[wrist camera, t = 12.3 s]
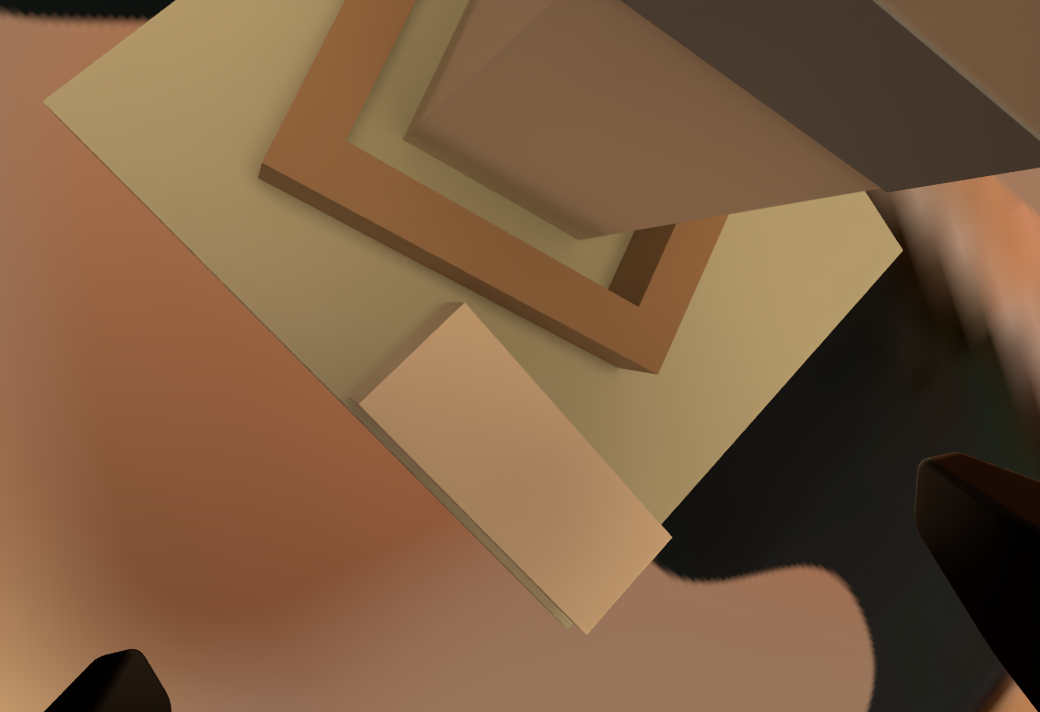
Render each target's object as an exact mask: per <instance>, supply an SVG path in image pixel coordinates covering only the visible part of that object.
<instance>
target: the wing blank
mask: <svg viewBox="0 0 1040 712" xmlns="http://www.w3.org/2000/svg"><path fill="white" fill-rule="evenodd" d="M349 397H350V398H351V399H352V400H353V401H354V402H355V403H356V404H357V405H358V406H359V407H360V409H361V410H362V411H363V412H364V413H365V414H366V415H367V416H368V417H369V418H370V419H371V420H372V421H373V422H374V423H375V424H376V425H377V426H378V427H379V428H380V429H381V430H382V431H383V432H384V433H385V434H386V435H387V436H388V437H389V438H390V439H391V440H392V441H393V442H394V443H395V444H396V445H397V446H398V447H399V448H400V449H401V450H402V451H403V452H404V453H405V454H406V455H407V456H408V457H409V458H410V459H411V460H412V461H413V462H414V463H415V464H416V465H417V466H418V467H419V468H420V469H421V470H422V471H423V472H424V473H425V474H426V475H427V476H428V477H429V478H430V479H431V480H432V481H433V482H434V483H435V484H436V485H437V486H438V487H439V488H440V489H441V490H442V491H443V492H444V493H445V494H446V495H447V496H448V497H449V498H450V500H451V501H452V502H453V503H454V504H455V505H456V506H457V507H458V508H459V509H460V510H461V511H462V512H463V513H464V514H465V515H466V516H467V517H468V518H469V519H470V520H471V521H472V522H473V523H474V524H475V525H476V526H477V527H478V528H479V529H480V530H481V531H482V532H483V533H484V534H485V535H486V536H487V537H488V538H489V539H490V540H491V541H492V542H493V543H494V544H495V545H496V546H497V547H498V548H499V549H500V550H501V551H502V552H503V553H504V554H505V555H506V556H507V557H508V558H509V559H510V560H511V561H512V562H513V563H514V564H515V565H516V566H517V567H518V568H519V569H520V570H521V571H522V572H523V573H524V574H525V575H526V576H527V577H528V578H529V579H530V580H531V581H532V582H533V583H534V584H535V585H536V586H537V587H538V588H539V589H540V591H541V592H542V593H543V594H544V595H545V596H546V597H547V598H548V599H549V600H550V601H551V602H552V603H553V604H554V605H555V606H556V607H557V608H558V609H559V610H560V611H561V612H562V613H563V614H564V615H566V616H567V617H568V618H569V619H570V620H571V621H572V622H573V623H574V624H575V625H576V626H577V627H578V628H580V629H581V630H582V631H583V632H584V633H585V634H586V635H587V634H588V633H589V632H590V631H591V630H592V628H593V627H594V626H595V625H596V624H597V623H598V622H599V620H600V619H601V618H602V617H603V616H604V615H605V614H606V612H607V611H608V610H609V609H610V608H611V607H612V605H613V604H614V603H615V602H616V601H617V600H618V599H619V598H620V596H621V595H622V594H623V593H624V592H625V591H626V589H627V588H628V587H629V586H630V585H631V584H632V583H633V582H634V580H635V579H636V578H637V577H638V576H639V575H640V574H641V572H642V571H643V570H644V569H645V568H646V567H647V566H648V564H649V563H650V562H651V561H652V560H653V559H654V558H655V556H656V555H657V554H658V553H659V552H660V551H661V550H662V548H663V547H664V546H665V545H666V544H667V543H668V542H669V540H670V539H671V538H672V537H671V536H670V534H669V533H668V532H667V531H666V530H665V529H664V528H663V527H662V525H661V524H660V523H659V522H658V521H657V520H656V519H655V517H654V516H653V515H652V514H651V513H650V512H649V511H648V510H647V508H646V507H645V506H644V505H643V504H642V503H641V502H640V500H639V499H638V498H637V497H636V496H635V495H634V494H633V493H632V491H631V490H630V489H629V488H628V487H627V486H626V485H625V483H624V482H623V481H622V480H621V479H620V478H619V477H618V476H617V474H616V473H615V472H614V471H613V470H612V469H611V468H610V466H609V465H608V464H607V463H606V462H605V461H604V460H603V459H602V457H601V456H600V455H599V454H598V453H597V452H596V451H595V449H594V448H593V447H592V446H591V445H590V444H589V443H588V442H587V440H586V439H585V438H584V437H583V436H582V435H581V434H580V432H579V431H578V430H577V429H576V428H575V427H574V426H573V425H572V423H571V422H570V421H569V420H568V419H567V418H566V417H565V415H564V414H563V413H562V412H561V411H560V410H559V409H558V408H557V406H556V405H555V404H554V403H553V402H552V401H551V400H550V398H549V397H548V396H547V395H546V394H545V393H544V392H543V391H542V389H541V388H540V387H539V386H538V385H537V384H536V383H535V381H534V380H533V379H532V378H531V377H530V376H529V375H528V374H527V372H526V371H525V370H524V369H523V368H522V367H521V366H520V364H519V363H518V362H517V361H516V360H515V359H514V358H513V357H512V355H511V354H510V353H509V352H508V351H507V350H506V349H505V347H504V346H503V345H502V344H501V343H500V342H499V341H498V340H497V338H496V337H495V336H494V335H493V334H492V333H491V332H490V330H489V329H488V328H487V327H486V326H485V325H484V324H483V323H482V321H481V320H480V319H479V318H478V317H477V316H476V315H475V313H474V312H473V311H472V310H471V309H470V308H469V307H468V306H467V304H466V303H465V302H447V303H445V304H444V305H443V306H442V307H441V308H440V309H439V310H438V311H437V312H436V313H435V314H434V315H433V316H432V317H431V318H430V319H429V320H428V321H427V322H426V323H425V324H423V325H422V326H421V327H420V328H419V329H418V330H417V331H416V332H415V333H414V334H413V335H412V336H411V337H410V338H409V339H408V340H407V341H406V342H405V343H404V344H402V345H401V346H400V347H399V348H398V349H397V350H396V351H395V352H394V353H393V354H392V355H391V356H390V357H389V358H388V359H387V360H386V361H385V362H384V363H383V364H382V365H380V366H379V367H378V368H377V369H376V370H375V371H374V372H373V373H372V374H371V375H370V376H369V377H368V378H367V379H366V380H365V381H364V382H363V383H362V384H361V385H359V386H358V387H357V388H356V389H355V390H354V391H353V392H352V393H351V394H350V395H349Z"/></svg>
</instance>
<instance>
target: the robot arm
mask: <svg viewBox="0 0 1040 712" xmlns="http://www.w3.org/2000/svg"><path fill="white" fill-rule="evenodd" d="M914 518H915V523H916V527H917V529H918V532H919V534H920V536H921V538H922V539H923V541H924V543H925V544H926V546H927V547H928V549H929V551H930V552H931V554H932V555H933V557H934V559H935V560H936V562H937V564H938V565H939V567H940V568H941V570H942V572H943V573H944V575H945V577H946V578H947V580H948V581H949V583H950V585H951V586H952V588H953V590H954V591H955V593H956V594H957V596H958V598H959V599H960V601H961V603H962V604H963V606H964V607H965V609H966V611H967V612H968V614H969V616H970V617H971V619H972V620H973V622H974V624H975V625H976V627H977V629H978V630H979V632H980V633H981V635H982V636H983V638H984V639H985V641H986V642H987V644H988V646H989V647H990V649H991V650H992V651H993V653H994V654H995V656H996V657H997V658H998V660H999V661H1000V662H1001V664H1002V665H1003V667H1004V668H1005V669H1006V671H1007V672H1008V673H1009V675H1010V676H1011V677H1012V678H1013V680H1014V681H1015V682H1016V684H1017V685H1018V686H1019V688H1020V689H1021V690H1022V692H1023V693H1024V694H1025V695H1026V697H1027V698H1028V699H1029V701H1030V702H1031V703H1032V705H1033V706H1034V707H1035V709H1036V710H1037V711H1038V712H1040V481H1037V480H1034V479H1031V478H1029V477H1026V476H1023V475H1020V474H1018V473H1015V472H1012V471H1009V470H1007V469H1004V468H1001V467H999V466H996V465H993V464H990V463H988V462H985V461H982V460H979V459H977V458H974V457H971V456H968V455H966V454H962V453H958V452H952V453H947V454H943V455H939V456H934V457H930V458H927V459H925V460H923V461H922V462H921V463H920V465H919V466H918V471H917V482H916V495H915V507H914ZM44 712H171V704H170V700H169V697H168V695H167V693H166V691H165V689H164V688H163V686H162V684H161V683H160V681H159V679H158V678H157V676H156V674H155V673H154V671H153V669H152V668H151V666H150V664H149V663H148V661H147V659H146V658H145V656H144V655H143V653H141V652H140V651H138V650H136V649H128V650H124V651H120V652H115V653H111V654H107V655H104V656H101V657H99V658H97V659H95V660H94V661H93V662H92V663H91V664H90V665H89V666H88V667H87V668H86V669H85V670H84V671H83V672H82V673H81V674H80V675H79V676H78V677H77V678H76V679H75V680H74V681H73V682H72V683H71V684H70V686H68V688H67V689H66V690H65V691H64V692H63V693H62V694H61V695H60V696H59V697H58V698H57V699H56V700H55V701H54V702H53V703H52V704H51V705H50V706H49V707H48V708H47V709H46V710H45V711H44Z"/></svg>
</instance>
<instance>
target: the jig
mask: <svg viewBox="0 0 1040 712" xmlns="http://www.w3.org/2000/svg"><path fill="white" fill-rule="evenodd" d="M468 2H469V0H176V1H174V2H173V3H172V4H170V5H169V6H168V7H166V8H165V9H164V10H162V11H161V12H160V13H158V14H157V15H156V16H154V17H153V18H152V19H151V20H149V21H148V22H147V23H145V24H144V25H143V26H141V27H140V28H139V29H137V30H136V31H135V32H133V33H132V34H131V35H129V36H128V37H127V38H125V39H124V40H123V41H122V42H120V43H119V44H117V45H116V46H115V47H114V48H112V49H111V50H110V51H108V52H107V53H106V54H104V55H103V56H102V57H100V58H99V59H98V60H96V61H95V62H94V63H93V64H91V65H90V66H88V67H87V68H86V69H84V70H83V71H82V72H81V73H79V74H78V75H77V76H75V77H74V78H73V79H71V80H70V81H69V82H67V83H66V84H65V85H63V86H62V87H61V88H59V89H58V90H57V91H55V92H54V93H53V94H52V95H50V96H49V97H48V98H46V99H45V100H44V101H43V103H44V104H45V105H46V106H47V107H48V108H49V109H50V110H51V111H52V112H53V113H54V114H55V116H56V117H57V118H58V119H60V121H61V122H62V123H64V125H65V126H66V127H67V128H69V130H71V132H72V133H73V134H74V135H76V137H77V138H78V139H79V140H80V141H81V142H82V143H83V144H84V145H85V146H86V147H87V148H88V149H90V151H91V152H92V153H93V154H94V155H95V156H96V157H97V158H98V159H99V160H100V161H101V162H102V163H103V164H104V165H105V166H106V167H107V168H108V169H109V170H110V171H111V172H112V173H113V174H114V175H115V176H116V177H117V178H118V179H119V180H120V181H121V182H122V183H123V184H124V185H125V186H126V187H127V188H128V189H129V190H130V191H131V192H132V193H133V194H134V195H135V196H136V197H137V198H138V199H139V200H140V201H141V202H142V203H143V204H144V205H145V206H146V207H147V208H148V209H149V210H150V211H151V212H152V213H153V214H154V215H155V216H156V217H157V218H158V219H159V220H160V221H161V222H162V223H163V224H164V225H165V226H166V227H167V228H168V229H169V230H170V231H171V232H172V233H173V234H174V235H175V236H176V237H177V238H178V239H179V240H180V241H181V242H182V243H183V244H184V245H185V246H186V247H187V248H188V249H189V250H190V251H191V252H192V253H193V254H194V255H195V256H196V257H197V258H198V259H199V260H200V261H201V262H202V263H203V264H204V265H205V266H206V267H207V268H208V269H209V270H210V271H211V272H212V273H213V274H214V275H215V276H216V277H217V278H218V279H219V280H220V281H221V282H222V283H223V284H224V285H225V286H226V287H227V288H228V289H229V290H230V291H231V292H232V293H233V294H234V295H235V296H236V297H237V298H238V299H239V300H240V301H241V302H242V303H243V304H244V305H245V306H246V307H247V308H248V309H249V310H250V311H251V312H252V313H253V314H254V315H255V316H256V317H257V318H258V319H259V320H260V321H261V322H262V323H263V324H264V325H265V326H266V327H267V328H268V329H269V330H270V331H271V332H272V333H273V334H274V335H275V336H276V337H277V338H278V339H279V340H280V341H281V342H282V343H283V344H284V345H285V346H286V347H287V348H288V349H289V350H290V351H291V352H292V353H293V354H294V355H295V356H296V357H297V358H298V360H299V361H301V363H303V364H304V366H305V367H306V368H307V369H308V370H310V372H312V374H313V375H314V376H315V377H316V378H317V379H319V381H321V383H322V384H323V385H324V386H326V388H327V389H328V390H329V391H330V392H331V393H332V394H333V395H334V396H335V397H336V398H337V399H338V400H339V401H340V402H341V403H342V404H343V405H344V406H345V407H346V408H347V409H348V410H349V411H350V412H351V413H352V414H353V415H354V416H355V417H356V418H357V419H358V420H359V421H360V422H361V423H362V424H363V425H364V426H365V427H366V428H367V429H369V431H370V432H371V433H372V434H373V435H374V436H375V437H376V438H377V439H378V440H379V441H380V442H381V443H382V444H383V445H384V446H385V447H386V448H387V449H388V450H389V451H390V452H391V453H392V454H393V455H394V456H395V457H396V458H397V459H398V460H399V461H400V462H401V463H402V464H403V465H404V466H405V467H406V468H407V469H408V470H409V471H410V472H411V473H412V474H413V475H414V476H415V477H416V478H417V479H418V480H419V481H420V482H421V483H422V484H423V485H424V486H425V487H426V488H427V489H428V490H429V491H430V492H431V493H432V494H433V495H434V496H435V497H436V498H437V499H438V500H439V501H440V502H441V503H442V504H443V505H444V506H445V507H446V508H447V509H448V510H449V511H450V512H451V513H452V514H453V515H454V516H455V517H456V518H457V519H458V520H459V521H460V522H461V523H462V524H463V525H464V526H465V527H466V528H467V529H468V530H469V531H470V532H471V533H472V534H473V535H474V536H475V537H476V538H477V539H478V540H479V541H480V542H481V543H482V544H483V545H484V546H485V547H486V548H487V549H488V550H489V551H490V552H491V553H492V554H493V555H494V556H495V557H496V558H497V559H498V560H499V561H500V562H501V563H502V564H503V565H504V566H505V567H506V568H507V569H508V570H509V571H510V572H511V573H512V574H513V575H514V576H515V577H516V578H517V579H518V580H519V581H520V582H521V583H522V584H523V585H524V586H525V587H526V588H527V589H528V590H529V591H530V592H531V593H532V594H533V595H534V596H535V597H536V598H537V599H538V600H539V601H540V602H541V603H542V604H543V605H544V606H545V607H546V608H547V609H548V610H549V611H550V612H551V613H552V614H553V615H554V616H555V617H556V618H557V619H558V620H559V621H560V622H561V623H562V624H563V625H564V626H565V627H566V628H567V629H569V628H570V627H571V626H572V625H573V624H574V623H573V622H572V621H571V620H570V619H569V618H568V617H567V616H566V615H564V614H563V613H562V612H561V611H560V610H559V609H558V608H557V607H556V606H555V605H554V604H553V603H552V602H551V601H550V600H549V599H548V598H547V597H546V596H545V595H544V594H543V593H542V592H541V591H540V589H539V588H538V587H537V586H536V585H535V584H534V583H533V582H532V581H531V580H530V579H529V578H528V577H527V576H526V575H525V574H524V573H523V572H522V571H521V570H520V569H519V568H518V567H517V566H516V565H515V564H514V563H513V562H512V561H511V560H510V559H509V558H508V557H507V556H506V555H505V554H504V553H503V552H502V551H501V550H500V549H499V548H498V547H497V546H496V545H495V544H494V543H493V542H492V541H491V540H490V539H489V538H488V537H487V536H486V535H485V534H484V533H483V532H482V531H481V530H480V529H479V528H478V527H477V526H476V525H475V524H474V523H473V522H472V521H471V520H470V519H469V518H468V517H467V516H466V515H465V514H464V513H463V512H462V511H461V510H460V509H459V508H458V507H457V506H456V505H455V504H454V503H453V502H452V501H451V500H450V498H449V497H448V496H447V495H446V494H445V493H444V492H443V491H442V490H441V489H440V488H439V487H438V486H437V485H436V484H435V483H434V482H433V481H432V480H431V479H430V478H429V477H428V476H427V475H426V474H425V473H424V472H423V471H422V470H421V469H420V468H419V467H418V466H417V465H416V464H415V463H414V462H413V461H412V460H411V459H410V458H409V457H408V456H407V455H406V454H405V453H404V452H403V451H402V450H401V449H400V448H399V447H398V446H397V445H396V444H395V443H394V442H393V441H392V440H391V439H390V438H389V437H388V436H387V435H386V434H385V433H384V432H383V431H382V430H381V429H380V428H379V427H378V426H377V425H376V424H375V423H374V422H373V421H372V420H371V419H370V418H369V417H368V416H367V415H366V414H365V413H364V412H363V411H362V410H361V409H360V407H359V406H358V405H357V404H356V403H355V402H354V401H353V400H352V399H351V398H350V397H349V395H350V394H351V393H352V392H353V391H354V390H355V389H356V388H357V387H358V386H359V385H361V384H362V383H363V382H364V381H365V380H366V379H367V378H368V377H369V376H370V375H371V374H372V373H373V372H374V371H375V370H376V369H377V368H378V367H379V366H380V365H382V364H383V363H384V362H385V361H386V360H387V359H388V358H389V357H390V356H391V355H392V354H393V353H394V352H395V351H396V350H397V349H398V348H399V347H400V346H401V345H402V344H404V343H405V342H406V341H407V340H408V339H409V338H410V337H411V336H412V335H413V334H414V333H415V332H416V331H417V330H418V329H419V328H420V327H421V326H422V325H423V324H425V323H426V322H427V321H428V320H429V319H430V318H431V317H432V316H433V315H434V314H435V313H436V312H437V311H438V310H439V309H440V308H441V307H442V306H443V305H444V304H445V303H447V302H465V303H466V304H467V306H468V307H469V308H470V309H471V310H472V311H473V312H474V313H475V315H476V316H477V317H478V318H479V319H480V320H481V321H482V323H483V324H484V325H485V326H486V327H487V328H488V329H489V330H490V332H491V333H492V334H493V335H494V336H495V337H496V338H497V340H498V341H499V342H500V343H501V344H502V345H503V346H504V347H505V349H506V350H507V351H508V352H509V353H510V354H511V355H512V357H513V358H514V359H515V360H516V361H517V362H518V363H519V364H520V366H521V367H522V368H523V369H524V370H525V371H526V372H527V374H528V375H529V376H530V377H531V378H532V379H533V380H534V381H535V383H536V384H537V385H538V386H539V387H540V388H541V389H542V391H543V392H544V393H545V394H546V395H547V396H548V397H549V398H550V400H551V401H552V402H553V403H554V404H555V405H556V406H557V408H558V409H559V410H560V411H561V412H562V413H563V414H564V415H565V417H566V418H567V419H568V420H569V421H570V422H571V423H572V425H573V426H574V427H575V428H576V429H577V430H578V431H579V432H580V434H581V435H582V436H583V437H584V438H585V439H586V440H587V442H588V443H589V444H590V445H591V446H592V447H593V448H594V449H595V451H596V452H597V453H598V454H599V455H600V456H601V457H602V459H603V460H604V461H605V462H606V463H607V464H608V465H609V466H610V468H611V469H612V470H613V471H614V472H615V473H616V474H617V476H618V477H619V478H620V479H621V480H622V481H623V482H624V483H625V485H626V486H627V487H628V488H629V489H630V490H631V491H632V493H633V494H634V495H635V496H636V497H637V498H638V499H639V500H640V502H641V503H642V504H643V505H644V506H645V507H646V508H647V510H648V511H649V512H650V513H651V514H652V515H653V516H654V517H655V519H656V520H657V521H658V522H659V523H660V524H662V523H663V522H664V521H665V519H666V518H667V517H668V516H669V515H670V514H671V513H672V511H673V510H674V509H675V508H676V507H677V506H678V505H679V504H680V502H681V501H682V500H683V499H684V498H685V497H686V496H687V494H688V493H689V492H690V491H691V490H692V489H693V488H694V487H695V485H696V484H697V483H698V482H699V481H700V480H701V479H702V477H703V476H704V475H705V474H706V473H707V472H708V471H709V470H710V468H711V467H712V466H713V465H714V464H715V463H716V462H717V460H718V459H719V458H720V457H721V456H722V455H723V454H724V453H725V451H726V450H727V449H728V448H729V447H730V446H731V445H732V443H733V442H734V441H735V440H736V439H737V438H738V437H739V436H740V434H741V433H742V432H743V431H744V430H745V429H746V428H747V426H748V425H749V424H750V423H751V422H752V421H753V420H754V419H755V417H756V416H757V415H758V414H759V413H760V412H761V411H762V409H763V408H764V407H765V406H766V405H767V404H768V403H769V402H770V400H771V399H772V398H773V397H774V396H775V395H776V394H777V392H778V391H779V390H780V389H781V388H782V387H783V386H784V385H785V383H786V382H787V381H788V380H789V379H790V378H791V377H792V375H793V374H794V373H795V372H796V371H797V370H798V369H799V368H800V366H801V365H802V364H803V363H804V362H805V361H806V360H807V358H808V357H809V356H810V355H811V354H812V353H813V352H814V351H815V349H816V348H817V347H818V346H819V345H820V344H821V343H822V341H823V340H824V339H825V338H826V337H827V336H828V335H829V334H830V332H831V331H832V330H833V329H834V328H835V327H836V326H837V324H838V323H839V322H840V321H841V320H842V319H843V318H844V317H845V315H846V314H847V313H848V312H849V311H850V310H851V309H852V307H853V306H854V305H855V304H856V303H857V302H858V301H859V300H860V298H861V297H862V296H863V295H864V294H865V293H866V292H867V291H868V289H869V288H870V287H871V286H872V285H873V284H874V283H875V281H876V280H877V279H878V278H879V277H880V276H881V275H882V274H883V272H884V271H885V270H886V269H887V268H888V267H889V266H890V264H891V263H892V262H893V261H894V260H895V259H896V258H897V257H898V255H899V254H900V253H901V252H902V251H903V250H902V248H901V247H900V245H899V244H898V242H897V241H896V239H895V237H894V236H893V234H892V233H891V231H890V230H889V228H888V227H887V225H886V223H885V222H884V220H883V219H882V217H881V216H880V214H879V213H878V211H877V209H876V208H875V206H874V205H873V203H872V202H871V200H870V198H869V197H868V195H867V194H866V192H865V191H862V192H856V193H850V194H844V195H838V196H833V197H827V198H821V199H815V200H809V201H804V202H798V203H792V204H786V205H780V206H774V207H769V208H763V209H757V210H751V211H745V212H739V213H734V214H728V215H722V216H716V217H710V218H705V219H699V220H693V221H687V222H681V223H675V224H670V225H664V226H658V227H652V228H646V229H641V230H635V231H629V232H623V233H617V234H611V235H606V236H600V237H594V238H588V239H582V240H578V239H576V238H574V237H572V236H571V235H569V234H567V233H565V232H564V231H562V230H560V229H558V228H557V227H555V226H553V225H551V224H550V223H548V222H546V221H544V220H543V219H541V218H539V217H537V216H536V215H534V214H532V213H530V212H529V211H527V210H525V209H523V208H522V207H520V206H518V205H516V204H515V203H513V202H511V201H509V200H508V199H506V198H504V197H502V196H501V195H499V194H497V193H495V192H493V191H492V190H490V189H488V188H486V187H485V186H483V185H481V184H479V183H478V182H476V181H474V180H472V179H471V178H469V177H467V176H465V175H464V174H462V173H460V172H458V171H457V170H455V169H453V168H451V167H450V166H448V165H446V164H444V163H443V162H441V161H439V160H437V159H436V158H434V157H432V156H430V155H429V154H427V153H425V152H423V151H422V150H420V149H418V148H416V147H415V146H413V145H411V144H409V143H408V142H406V141H404V140H403V138H404V136H405V133H406V131H407V129H408V127H409V125H410V123H411V121H412V119H413V117H414V115H415V113H416V110H417V108H418V106H419V104H420V102H421V100H422V98H423V96H424V94H425V92H426V90H427V87H428V85H429V83H430V81H431V79H432V77H433V75H434V73H435V71H436V69H437V66H438V64H439V62H440V60H441V58H442V56H443V54H444V52H445V50H446V48H447V46H448V43H449V41H450V39H451V37H452V35H453V33H454V31H455V29H456V27H457V25H458V23H459V20H460V18H461V16H462V14H463V12H464V10H465V8H466V6H467V4H468Z"/></svg>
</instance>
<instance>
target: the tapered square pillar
mask: <svg viewBox="0 0 1040 712" xmlns="http://www.w3.org/2000/svg"><path fill="white" fill-rule="evenodd" d="M403 140H404V141H406V142H408V143H409V144H411V145H413V146H415V147H416V148H418V149H420V150H422V151H423V152H425V153H427V154H429V155H430V156H432V157H434V158H436V159H437V160H439V161H441V162H443V163H444V164H446V165H448V166H450V167H451V168H453V169H455V170H457V171H458V172H460V173H462V174H464V175H465V176H467V177H469V178H471V179H472V180H474V181H476V182H478V183H479V184H481V185H483V186H485V187H486V188H488V189H490V190H492V191H493V192H495V193H497V194H499V195H501V196H502V197H504V198H506V199H508V200H509V201H511V202H513V203H515V204H516V205H518V206H520V207H522V208H523V209H525V210H527V211H529V212H530V213H532V214H534V215H536V216H537V217H539V218H541V219H543V220H544V221H546V222H548V223H550V224H551V225H553V226H555V227H557V228H558V229H560V230H562V231H564V232H565V233H567V234H569V235H571V236H572V237H574V238H576V239H578V240H582V239H588V238H594V237H600V236H606V235H611V234H617V233H623V232H629V231H635V230H641V229H646V228H652V227H658V226H664V225H670V224H675V223H681V222H687V221H693V220H699V219H705V218H710V217H716V216H722V215H728V214H734V213H739V212H745V211H751V210H757V209H763V208H769V207H774V206H780V205H786V204H792V203H798V202H804V201H809V200H815V199H821V198H827V197H833V196H838V195H844V194H850V193H856V192H862V191H868V190H873V189H879V188H881V189H883V190H884V191H886V192H893V191H899V190H905V189H911V188H917V187H923V186H929V185H935V184H942V183H948V182H954V181H960V180H966V179H972V178H978V177H984V176H990V175H996V174H1003V173H1008V172H1015V171H1021V170H1027V169H1033V168H1038V167H1040V0H469V2H468V4H467V6H466V8H465V10H464V12H463V14H462V16H461V18H460V20H459V23H458V25H457V27H456V29H455V31H454V33H453V35H452V37H451V39H450V41H449V43H448V46H447V48H446V50H445V52H444V54H443V56H442V58H441V60H440V62H439V64H438V66H437V69H436V71H435V73H434V75H433V77H432V79H431V81H430V83H429V85H428V87H427V90H426V92H425V94H424V96H423V98H422V100H421V102H420V104H419V106H418V108H417V110H416V113H415V115H414V117H413V119H412V121H411V123H410V125H409V127H408V129H407V131H406V133H405V136H404V138H403Z"/></svg>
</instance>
